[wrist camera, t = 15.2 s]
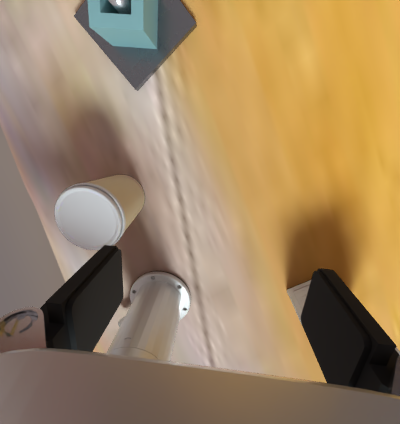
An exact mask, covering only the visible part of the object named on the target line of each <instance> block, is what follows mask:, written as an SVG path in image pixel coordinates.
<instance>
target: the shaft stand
mask: <svg viewBox="0 0 400 424" xmlns="http://www.w3.org/2000/svg"><path fill="white" fill-rule="evenodd" d="M108 1H109V2H110V3H111V4H112V5H113V7H114V8H115V9H116V10H117V11H118V13H119V14H130V15H131V0H108ZM74 17H75V18H76V19H77V20H78V22H79V23H80V24H81V25H82V26H83V28H84V29H85V30H86V31H87V32H88V34H89V35H90V36H91V37H92V38H93V39H94V41H95V42H96V43H97V44H98V45H99V47H100V48H101V49H102V50H103V51H104V53H105V54H106V55H107V56H108V57H109V59H110V60H111V61H112V62H113V63H114V65H115V66H116V67H117V68H118V69H119V70H120V72H121V73H122V74H123V75H124V76H125V78H126V79H127V80H128V81H129V82H130V84H131V85H132V86H133V87H134V88H135V90H137V91H138V90H139V89H140V88H141V87H142V86H143V85H144V83H145V82H146V81H147V80H148V79H149V78H150V77H151V76H152V75H153V74H154V72H155V71H156V70H157V69H158V68H159V67H160V66H161V65H162V64H163V63H164V62H165V60H166V59H167V58H168V57H169V56H170V55H171V54H172V53H173V52H174V51H175V49H176V48H177V47H178V46H179V45H180V44H181V43H182V42H183V41H184V40H185V39H186V37H187V36H188V35H189V34H190V33H191V32H192V31H193V30H194V29H195V28H196V26H197V25H196V22H195V20H194V19H193V18H192V16H191V15H190V14H189V12H188V11H187V9H186V8H185V7H184V5H183V4H182V2H181V1H180V0H158V30H157V49H149V48H135V47H121V46H112V45H111V44H110V43H109V42H107V41H106V40H105V39H104V38H102V37H101V36H100V35H99V34H98V33H96V32H95V31H94V30H93V29H91V28H90V27H89V14H88V0H85V1H84V3H83V4H82V5H81V7H80V8H79V10H78V11H77V12H76V14H75V15H74Z"/></svg>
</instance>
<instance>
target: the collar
mask: <svg viewBox="0 0 400 424" xmlns="http://www.w3.org/2000/svg"><path fill="white" fill-rule="evenodd" d="M88 14H89V27H90V28H91V29H93V30H94V31H95V32H96V33H98V34H99V35H100V36H101V37H102V38H104V39H105V40H106V41H107V42H109V43H110V44H111V45H112V46H121V47H135V48H149V49H157V30H158V0H131V15H130V14H119V13H118V11H117V10H116V9H115V8H114V7H113V5H112V4H111V3H110V2H109V1H108V0H88Z"/></svg>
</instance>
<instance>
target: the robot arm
mask: <svg viewBox="0 0 400 424" xmlns="http://www.w3.org/2000/svg"><path fill="white" fill-rule="evenodd" d="M122 299H123V278H122V258H121V250H119V249H118V248H117V246H110V245H104V246H103V247H102V248H101V249H100V250H99V251H98V252H97V253H96V254H95V255H94V256H93V257H92V258H91V259H89V260H88V261H87V262H86V263H85V264H84V265H83V266H82V267H81V268H80V269H79V270H78V271H77V272H76V273H75V274H74V275H73V276H72V277H71V278H70V279H69V280H68V281H67V282H66V283H65V284H64V285H63V286H62V287H61V288H60V289H59V290H58V291H56V292H55V293H54V294H53V295H52V296H51V297H50V298H49V299H48V300H47V301H46V303H45V304H44V305H43V306H42V307H41V308H40V309H39V308H35V307H25V308H20V309H17V310H14V311H12V312H10V313H8V314H6V315H4V316H3V317H1V318H0V424H400V355H399V353H398V352H397V351H396V350H395V348H396V345H395V343H394V342H393V341H392V340H391V339H390V337H389V336H388V335H387V334H386V333H385V331H384V330H383V329H382V328H381V327H380V325H379V324H378V323H377V322H376V321H375V319H374V318H373V317H372V316H371V315H370V313H369V312H368V311H367V310H366V309H365V307H364V306H363V305H362V304H361V303H360V301H359V300H358V299H357V298H356V297H355V295H354V294H353V293H352V292H351V291H350V289H349V288H348V287H347V286H346V285H345V283H344V282H343V281H342V280H341V279H340V277H339V276H338V275H337V274H336V273H335V271H333V270H330V269H318V270H317V271H314V273H313V276H312V279H311V283H310V286H309V289H308V293H307V296H306V300H305V303H304V307H303V310H302V313H301V323H302V326H303V328H304V330H305V333H306V335H307V337H308V340H309V342H310V344H311V347H312V349H313V351H314V354H315V356H316V358H317V361H318V363H319V365H320V368H321V370H322V372H323V374H324V377H325V379H326V381H327V383H322V382H315V381H308V380H301V379H294V378H287V377H280V376H273V375H266V374H259V373H251V372H244V371H237V370H229V369H222V368H215V367H207V366H200V365H192V364H185V363H177V362H170V360H171V356H172V351H173V346H174V342H175V337H176V332H177V328H178V323H179V320H181V319H182V318H183V317H184V316H185V315H186V314H187V312H188V310H189V307H190V302H191V297H190V293H189V290H188V288H187V287H186V285H185V284H184V283H183V282H182V281H181V280H180V279H179V278H177V277H175V276H174V275H171V274H169V273H165V272H149V273H146V274H144V275H142V276H140V277H139V278H138V279H137V280H136V281H135V283H134V284H133V286H132V288H131V291H130V301H131V306H130V308H129V310H128V312H127V314H126V316H125V317H123V318H122V319H120V320H119V322H118V325H119V327H120V328H119V330H118V332H117V334H116V336H115V337H114V339H113V341H112V343H111V345H110V347H109V349H108V351H107V353H98V352H92V351H93V350H94V348H95V346H96V344H97V343H98V341H99V339H100V338H101V336H102V334H103V332H104V331H105V329H106V327H107V326H108V324H109V322H110V320H111V319H112V317H113V315H114V314H115V312H116V310H117V308H118V307H119V305H120V303H121V301H122Z"/></svg>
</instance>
